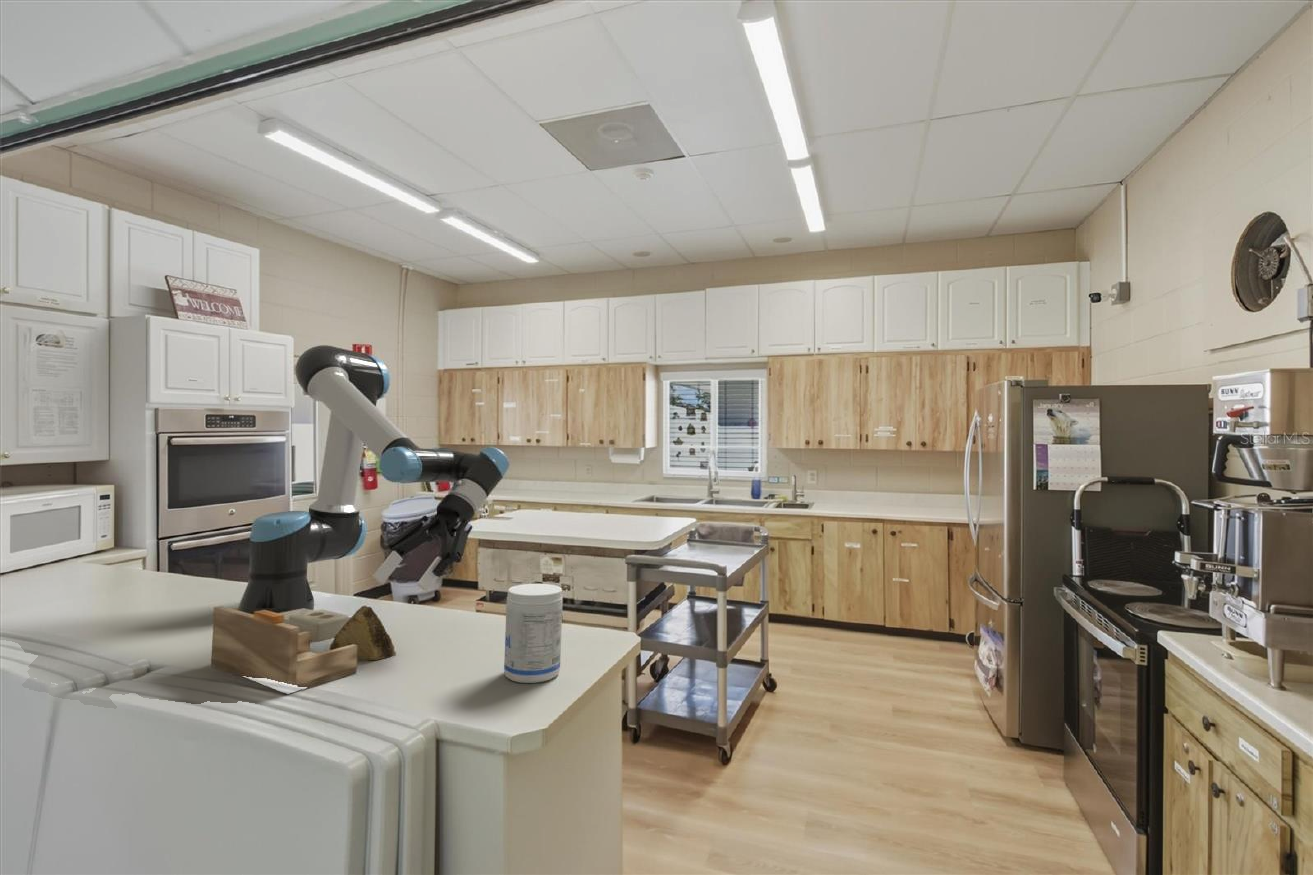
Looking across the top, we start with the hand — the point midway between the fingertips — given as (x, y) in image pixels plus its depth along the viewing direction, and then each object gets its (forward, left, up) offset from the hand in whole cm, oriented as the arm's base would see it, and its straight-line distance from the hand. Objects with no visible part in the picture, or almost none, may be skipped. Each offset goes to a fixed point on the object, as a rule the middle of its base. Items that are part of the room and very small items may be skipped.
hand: (398, 584), depth 116 cm
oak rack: (+19, -5, -12) cm, 23 cm away
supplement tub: (-3, +33, -12) cm, 35 cm away
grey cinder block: (+3, -24, -13) cm, 28 cm away
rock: (+7, 0, -12) cm, 14 cm away
